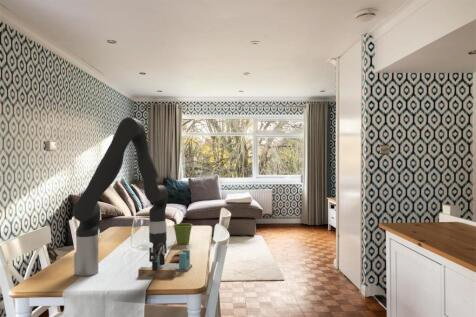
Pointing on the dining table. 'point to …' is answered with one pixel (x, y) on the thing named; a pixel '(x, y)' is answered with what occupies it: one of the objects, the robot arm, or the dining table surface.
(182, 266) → the bracket stand
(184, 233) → the plant pot
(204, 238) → the dining table surface
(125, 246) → the dining table surface
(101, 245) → the dining table surface
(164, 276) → the rail
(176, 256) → the sunglasses case
